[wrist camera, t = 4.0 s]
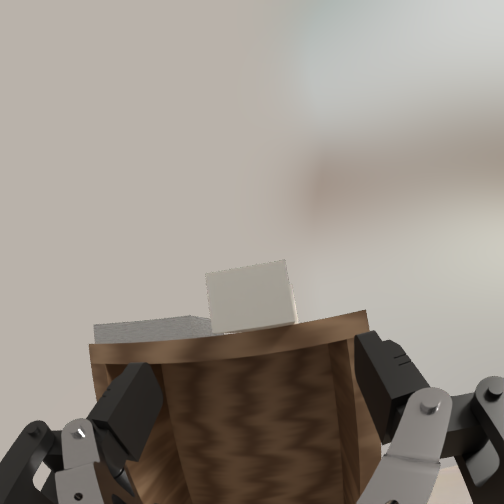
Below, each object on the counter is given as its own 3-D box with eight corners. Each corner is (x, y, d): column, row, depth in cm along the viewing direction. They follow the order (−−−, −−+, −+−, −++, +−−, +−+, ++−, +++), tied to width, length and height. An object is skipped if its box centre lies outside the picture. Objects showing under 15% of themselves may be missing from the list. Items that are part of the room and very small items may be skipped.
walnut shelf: (355, 507, 24) (337, 317, 34) (373, 561, 11) (365, 309, 20) (191, 518, 27) (151, 343, 36) (158, 564, 13) (88, 344, 23)
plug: (297, 325, 33) (291, 294, 34) (308, 318, 12) (293, 237, 14) (256, 332, 34) (251, 301, 35) (200, 334, 13) (192, 256, 14)
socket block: (224, 336, 33) (222, 320, 34) (192, 338, 22) (190, 315, 23) (147, 343, 34) (146, 328, 35) (95, 343, 23) (93, 324, 24)
